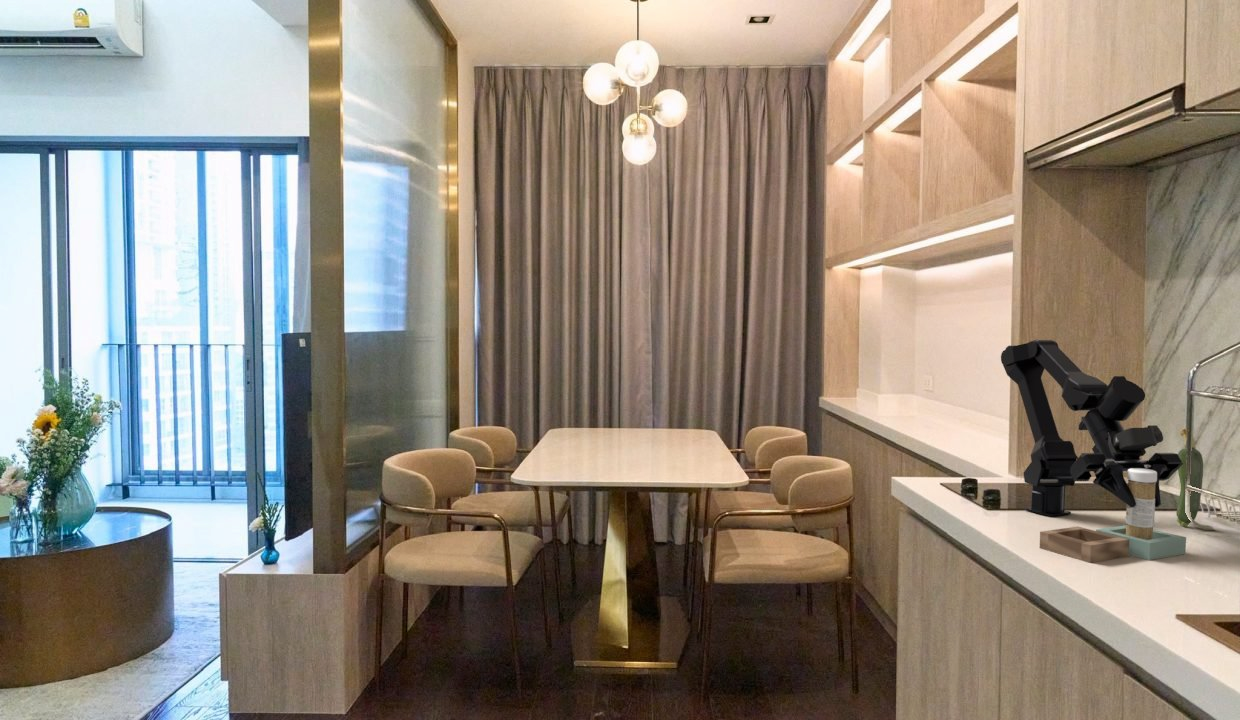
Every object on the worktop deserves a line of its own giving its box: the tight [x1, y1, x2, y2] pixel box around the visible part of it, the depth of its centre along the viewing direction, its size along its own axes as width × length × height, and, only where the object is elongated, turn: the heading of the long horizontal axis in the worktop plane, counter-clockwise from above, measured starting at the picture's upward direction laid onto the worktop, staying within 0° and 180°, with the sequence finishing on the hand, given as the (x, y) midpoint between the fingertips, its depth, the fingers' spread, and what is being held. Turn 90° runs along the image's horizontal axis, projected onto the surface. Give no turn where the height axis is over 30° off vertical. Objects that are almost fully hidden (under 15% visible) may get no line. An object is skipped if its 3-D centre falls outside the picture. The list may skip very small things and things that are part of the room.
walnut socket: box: [1039, 526, 1130, 563], centre depth 150 cm, size 10×10×3 cm
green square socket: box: [1095, 525, 1187, 561], centre depth 152 cm, size 10×10×3 cm
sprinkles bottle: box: [1125, 468, 1157, 540], centre depth 151 cm, size 5×5×14 cm
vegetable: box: [1176, 428, 1204, 528], centre depth 168 cm, size 4×4×20 cm
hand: (1146, 506), depth 150 cm, fingers closed on sprinkles bottle, 4 cm apart
